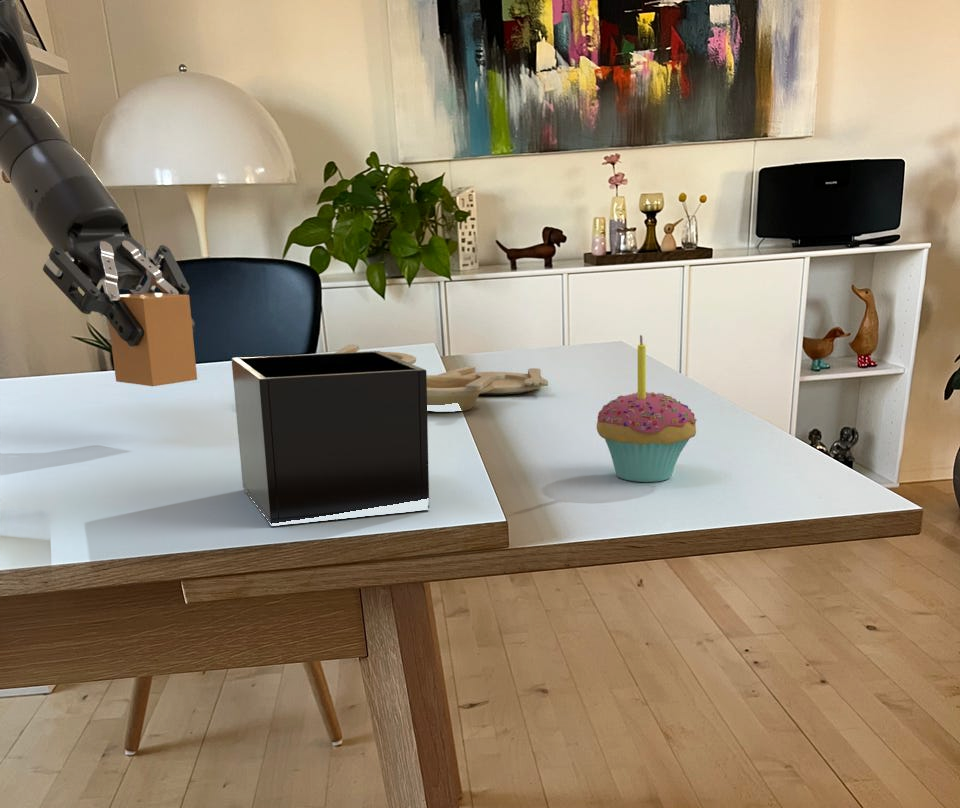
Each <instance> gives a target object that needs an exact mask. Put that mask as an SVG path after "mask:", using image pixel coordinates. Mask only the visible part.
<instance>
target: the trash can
mask: <svg viewBox="0 0 960 808" xmlns="http://www.w3.org/2000/svg"><path fill="white" fill-rule="evenodd" d="M383 352H384V351H381V350H371V351H369V350H368V351H357V352H346V353H335V352H328V353H327V352H326V353H308V354H306V353H305V354H285V355H267V356H247V357H232V358H231V359H230V360H231V370H232V380H233V392H234V402H235V403H234V404H235V414H236V415H235V416H236V424H237V436H238V448H239V458H240V459H239V460H240V470H241V471H240V472H241V480H242V481H241V482H242V489H243V488H244V489H245V490H246V491H247V493H248V494H249V496H250V497H251V498H252V500H253V501H254V502H255V504H256V505H257V506H258V508H259V509H260V510H261V512H262V513H263V514H264V515H265V517H266V518H267V519H268V521H269V522H270V523H271V524H272V523H279V522H286V521H291V520H300V519H305V518H314V517H319V516H326V515H333V514H339V513H344V512H350V511H356V510H362V509H368V508H374V507H379V506H387V505H393V504H399V503H404V502H410V501H418V500H421V499H427V498H429V499H430V480H429V479H430V478H429V475H430V474H429V471H430V470H429V432H428V431H429V428H428V427H429V425H428V412H427V375H428V374H427V370H426V369H424V368H422V367H420V366H417V365H415V364H410V363H407V362H405V361H403V360H400V359H398V358H395V357H393V356H390V355H388V354H385V353H383ZM244 489H243V490H244ZM247 493H246V494H247ZM249 496H248V497H249ZM250 497H249V498H250ZM252 500H251V501H252ZM255 504H254V505H255ZM258 508H257V509H258ZM261 512H260V513H261Z"/></svg>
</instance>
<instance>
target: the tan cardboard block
mask: <svg viewBox="0 0 960 808" xmlns="http://www.w3.org/2000/svg"><path fill="white" fill-rule="evenodd" d="M119 302H125V304H126V305H127V306H128V308H129V309H130V311H131V312H132V313H133V315H134V316H135V318H136V319H137V321H138V322H139V323H140V325H141V326H142V328H143V329H144V336H143V338H142V340H141V342H140V343H139V345H138V346H132V347H131V346H129V345H128V343H127V342H126V341H124V340H123V339H122V338H120V336H119V335H118V333H117V332H116V330H115V329H114V328H113V326H112V325H111V323H110V322H109V321H108V327H109V328H108V329H109V337H110V345H111V352H112V360H113V368H114V375H115V382H118V383H124V384H132V385H137V386H139V385H140V386H148V387H158V386H165V385H172V384H178V383H184V382H185V383H186V382H190V381H191V382H192V381H197V380H198V374H197V364H196V363H197V362H196V354H195V352H196V351H195V343H194V332H193V331H192V321H191V317H192V311H191V302H190V294H186V295H181V294H165V293H163V292H156V293H139V294H133V293H126V294H125V293H124V294H120V300H119Z"/></svg>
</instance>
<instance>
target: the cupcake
mask: <svg viewBox="0 0 960 808" xmlns="http://www.w3.org/2000/svg"><path fill="white" fill-rule="evenodd" d="M643 338H644V337H643V335H642V334H640V335H639V344H637V392H635V393H630V394H625V395H619V396H617V397H616V398H615V399H612V400H610V401H608V402H607V403H606V404H604V405H602V408H601V410H599V412H598V415H597V417H596V419H597V422H596V431H597V433H598V435H599V436H600V437H601V438H602V439H604V441H605V443H606V446H607V448H608V450H609V451H608V452H609V453H610V457H611V461H612V464H613V468H614V473H615V475H616V477H617V478H619V479H621V480H625V481H629V482H638V483H658V482H663V481H667V480H669V479H671V477H672V475H673V472H674V470H675V466H676V464H677V461H678V459H679V457H680V455H681V453H682V451H683V450H684V448H685V447H686V445H687V443H688V442H689V441H690V439H692V438H694V437H695V436H696V435H697V427H696V423H697V421H698V420H697V419H696V417H695V413H694V412H692V409H691V408H689V406H688V405H687V404H684V403H681V401H680V400H677V399H676V398H674V397H673V396H672V395H666V394H665V393H660V392H658V393H655V392H654V391H652V392H647V391H646V390H647V389H646V387H647V386H646V380H647V379H646V376H647V375H646V370H647V368H646V366H647V364H646V363H647V358H646V357H647V356H646V354H647V352H646V351H647V349H646V344H645V343H643V341H644V340H643Z"/></svg>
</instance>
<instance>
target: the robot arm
mask: <svg viewBox="0 0 960 808" xmlns="http://www.w3.org/2000/svg"><path fill="white" fill-rule="evenodd" d="M19 13H20V12H19V9H18V4H17V0H0V170H1V171H2V172H3V174H4V175H5V176H6V178H7V179H8V181H9V182H10V184H11V185H12V186H13V188H14V190H15V191H16V193H17V196H18V197H19V200H20V201H21V204H22V205H23V207H24V208H25V210H26V212H28V214H29V215H30V217H31V219H32V220H33V221H34V222H35V224H36V225H37V227H38V228H39V230H40V231H41V232H42V234H43V236H44V237H45V238H46V240H47V241H48V242H49V244H50V245H51V246H52V247H51V248H50V251H49V253H48V255H47V258H46V260H45V262H44V264H43V267H42V271H43V273H44V274H45V275H46V276H47V277H48V278H49V279H50V280H51V281H52V282H53V284H55V286H57V288H58V289H59V290H60V292H62V293H63V294H64V295H65V296H66V297H67V298H68V300H69V301H70V302H71V303H72V304H73V305H74V307H76V308H77V309H78V310H79V312H81V313H82V314H85V315H91V314H92V312H94V313H98V314H99V315H100V316H101V317H102V318H104V319H107V321H108V323H109V322H110V323H111V325H112V326H113V328H114V329H115V330H116V332H117V333H118V335H119V336H120V338H122V339H123V340H124V341H126V342H127V343H128V345H129V346H131V347H132V346H138V345H139V343H140V342H141V340H142V338H143V336H144V329H143V328H142V326H141V325H140V323H139V322H138V321H137V319H136V318H135V316H134V315H133V313H132V312H131V311H130V309H129V308H128V306H127V305H126V304H125V302H119V300H120V295H121V293H120V291H119V290H125V291H130V292H131V294H139V293H157V292H156V289H158V290H159V291H160V292H161V293H165V294H181V295H187V294H188V292H189V290H190V285H189V284H188V282H187V280H186V277H185V275H184V274H183V272H182V270H181V267H180V266H179V264H178V263H177V261H176V259H175V256H174V255H173V253H172V251H171V249H170V248H169V247H168V246H166V245H164V244H161V245H159V247H158V248H157V250H153V249H145V247H144V246H143V245H142V244H141V243H140V242H138V241H137V240H136V239H135V238H134V237H133V236H132V234H131V231H130V226H129V223H128V218H127V216H126V214H125V213H124V211H123V210H122V208H121V207H120V206H119V204H118V202H116V200H115V199H114V197H113V196H112V194H111V193H110V192H109V190H108V189H107V187H105V185H104V184H103V182H102V181H101V179H100V178H99V177H98V175H97V174H96V172H95V171H94V170H93V168H92V167H91V166H90V164H89V163H88V161H86V160H85V158H84V157H82V155H81V154H80V153H79V152H78V151H77V150H76V149H75V148H74V146H73V145H72V143H71V142H70V141H69V139H68V138H67V136H66V135H65V134H64V133H63V130H61V128H60V126H59V125H58V124H57V123H56V121H55V120H54V118H53V117H52V115H50V113H49V112H48V111H46V109H44V108H43V107H41V106H40V105H37V104H35V103H34V102H35V99H36V97H37V94H38V90H39V89H38V88H39V81H38V75H37V71H36V67H35V64H34V61H33V58H32V55H31V53H30V50H29V45H28V44H27V41H26V36H25V33H24V29H23V25H22V21H21V18H20V17H21V16H20V14H19ZM145 275H146V278H147V279H146V280H145V282H144V284H143V285H142V284H141V283H142V280H143V279H144V277H145ZM80 290H81V291H82V292H83V293H84V294H82V293H81V292H80ZM191 321H192V331H193V333H194V332H195V330H196V322H195V320H194V319H193V318H192V316H191Z"/></svg>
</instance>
